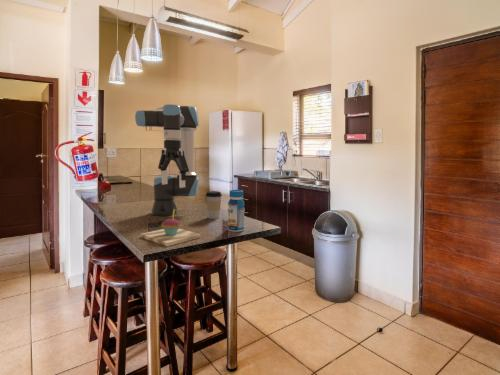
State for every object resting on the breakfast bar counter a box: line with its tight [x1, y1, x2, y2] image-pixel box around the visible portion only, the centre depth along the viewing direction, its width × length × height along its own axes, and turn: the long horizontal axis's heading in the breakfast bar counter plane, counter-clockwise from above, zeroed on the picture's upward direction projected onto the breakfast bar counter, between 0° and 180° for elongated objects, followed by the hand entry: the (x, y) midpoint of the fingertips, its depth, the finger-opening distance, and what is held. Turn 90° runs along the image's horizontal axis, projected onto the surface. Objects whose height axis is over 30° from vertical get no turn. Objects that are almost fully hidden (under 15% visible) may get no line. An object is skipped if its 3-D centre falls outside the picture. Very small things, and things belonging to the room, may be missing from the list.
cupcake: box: [160, 210, 181, 236], centre depth 147 cm, size 9×8×12 cm
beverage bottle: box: [227, 189, 246, 233], centre depth 161 cm, size 8×8×20 cm
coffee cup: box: [205, 190, 223, 220], centre depth 188 cm, size 9×9×15 cm
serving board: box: [140, 227, 201, 247], centre depth 148 cm, size 20×18×2 cm
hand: (173, 185), depth 151 cm, fingers open, 13 cm apart
